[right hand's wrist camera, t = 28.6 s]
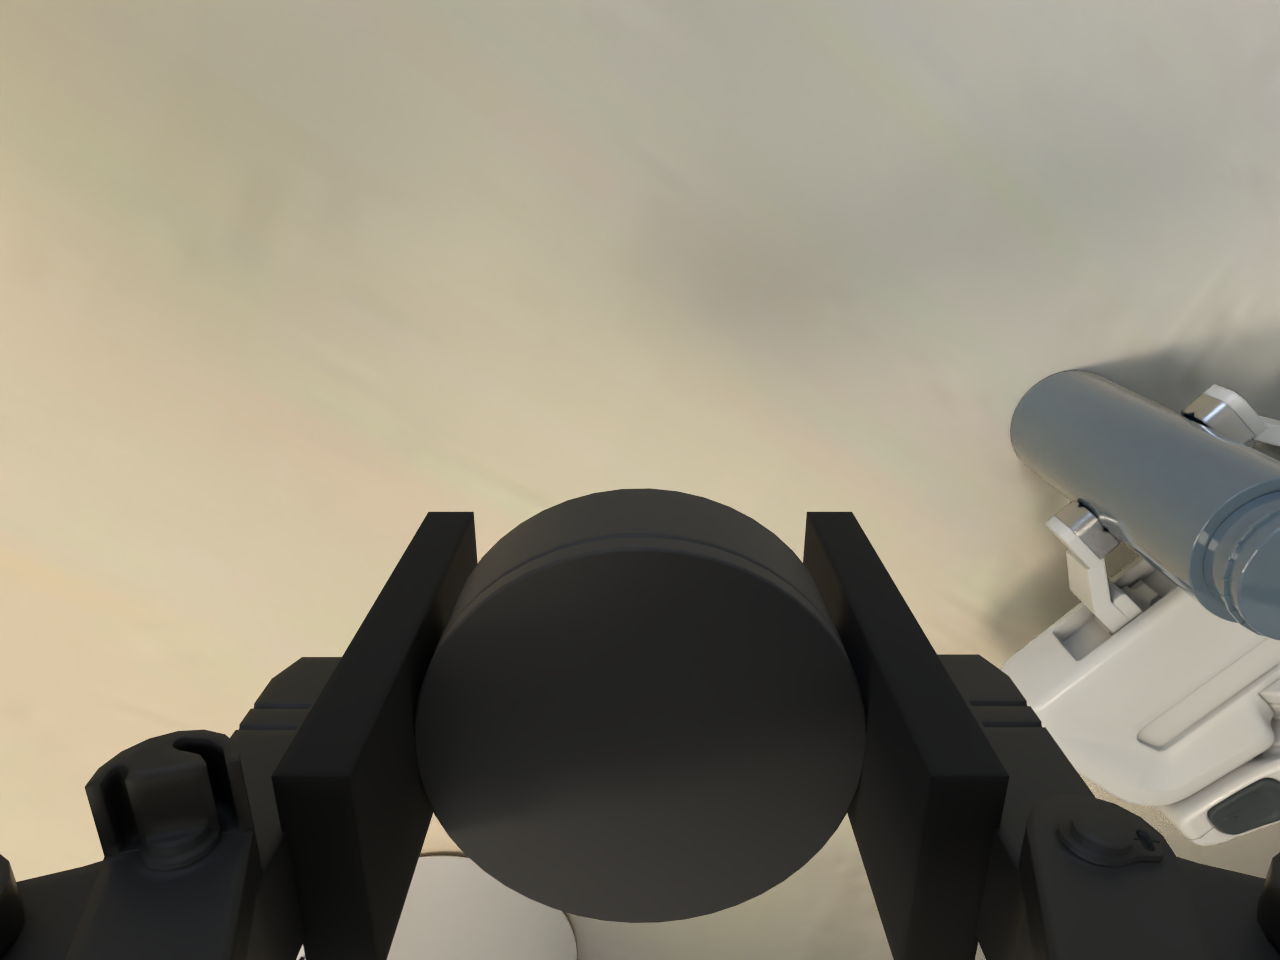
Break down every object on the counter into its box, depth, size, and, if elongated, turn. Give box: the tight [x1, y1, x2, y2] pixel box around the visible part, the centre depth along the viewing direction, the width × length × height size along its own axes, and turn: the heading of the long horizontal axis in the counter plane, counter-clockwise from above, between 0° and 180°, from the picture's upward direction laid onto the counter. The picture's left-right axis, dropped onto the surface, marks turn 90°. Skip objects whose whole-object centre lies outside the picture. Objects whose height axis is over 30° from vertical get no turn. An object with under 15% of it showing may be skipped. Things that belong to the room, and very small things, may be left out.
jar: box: [1011, 370, 1280, 640], centre depth 31 cm, size 5×5×15 cm
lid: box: [414, 489, 867, 923], centre depth 11 cm, size 6×6×2 cm
